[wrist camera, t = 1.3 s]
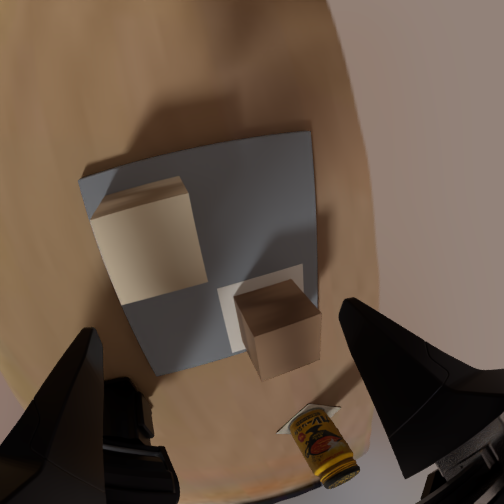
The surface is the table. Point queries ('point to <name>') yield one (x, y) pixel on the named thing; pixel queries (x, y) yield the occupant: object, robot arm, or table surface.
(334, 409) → the condiment
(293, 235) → the grey base plate
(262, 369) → the walnut block
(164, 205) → the birch block
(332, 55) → the table surface
